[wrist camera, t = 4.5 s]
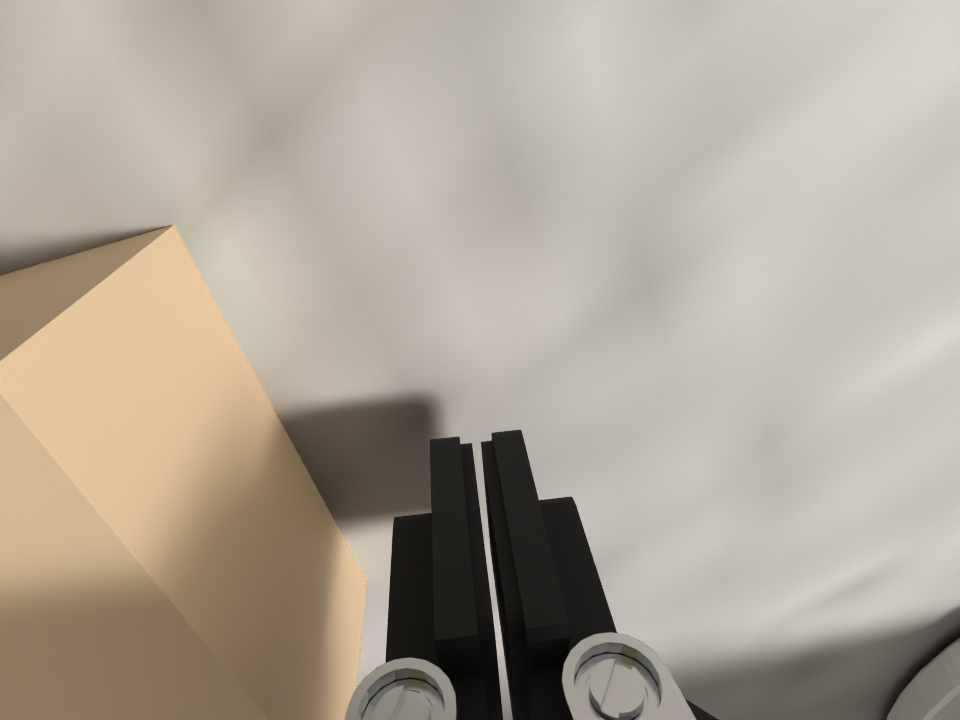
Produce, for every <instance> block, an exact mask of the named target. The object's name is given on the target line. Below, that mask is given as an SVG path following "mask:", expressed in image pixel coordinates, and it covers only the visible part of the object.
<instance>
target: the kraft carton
mask: <svg viewBox="0 0 960 720" xmlns="http://www.w3.org/2000/svg"><path fill="white" fill-rule="evenodd" d="M366 589H367V580H366V578H365V576H364V574H363V572H362V570H361V568H360V567H359V565H358V563H357V561H356V559H355V557H354V556H353V554H352V552H351V550H350V548H349V546H348V545H347V543H346V541H345V539H344V537H343V535H342V534H341V532H340V530H339V528H338V526H337V524H336V522H335V521H334V519H333V517H332V515H331V513H330V511H329V510H328V508H327V506H326V504H325V502H324V500H323V499H322V497H321V495H320V493H319V491H318V489H317V487H316V486H315V484H314V482H313V480H312V478H311V476H310V475H309V473H308V471H307V469H306V467H305V465H304V464H303V462H302V460H301V458H300V456H299V454H298V453H297V451H296V449H295V447H294V445H293V443H292V441H291V440H290V438H289V436H288V434H287V432H286V430H285V429H284V427H283V425H282V423H281V421H280V419H279V418H278V416H277V414H276V412H275V410H274V408H273V406H272V405H271V403H270V401H269V399H268V397H267V395H266V394H265V392H264V390H263V388H262V386H261V384H260V383H259V381H258V379H257V377H256V375H255V373H254V371H253V370H252V368H251V366H250V364H249V362H248V360H247V359H246V357H245V355H244V353H243V351H242V349H241V348H240V346H239V344H238V342H237V340H236V338H235V337H234V335H233V333H232V331H231V329H230V327H229V325H228V324H227V322H226V320H225V318H224V316H223V314H222V313H221V311H220V309H219V307H218V305H217V303H216V302H215V300H214V298H213V296H212V294H211V292H210V290H209V289H208V287H207V285H206V283H205V281H204V279H203V278H202V276H201V274H200V272H199V270H198V268H197V267H196V265H195V263H194V261H193V259H192V257H191V256H190V254H189V252H188V250H187V248H186V246H185V244H184V243H183V241H182V239H181V237H180V235H179V233H178V232H177V230H176V228H175V226H174V225H172V226H168V227H165V228H162V229H158V230H155V231H151V232H148V233H144V234H141V235H138V236H134V237H131V238H127V239H124V240H120V241H117V242H113V243H110V244H107V245H103V246H100V247H96V248H93V249H89V250H86V251H82V252H79V253H76V254H72V255H69V256H65V257H62V258H58V259H55V260H51V261H48V262H45V263H41V264H38V265H34V266H31V267H27V268H24V269H20V270H17V271H14V272H10V273H7V274H3V275H0V720H344V718H345V714H346V710H347V707H348V705H349V702H350V700H351V697H352V695H353V692H354V691H355V690H356V688H357V678H358V669H359V659H360V649H361V639H362V629H363V619H364V609H365V599H366Z"/></svg>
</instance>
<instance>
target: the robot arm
mask: <svg viewBox="0 0 960 720" xmlns="http://www.w3.org/2000/svg"><path fill="white" fill-rule="evenodd" d="M481 448H482V459H483V470H484V482H485V493H486V504H487V515H488V526H489V538H490V548H491V557H492V565H493V573H494V580H495V588H496V595H497V603H498V610H499V618H500V626H501V633H502V641H503V648H504V656H505V663H506V671H507V678H508V686H509V693H510V701H511V708H512V716H513V720H718V719H716V718H715V717H713V716H711V715H710V714H708V713H707V712H705V711H703V710H702V709H700V708H699V707H697V706H696V705H694V704H692V703H691V702H689V701H688V700H686V699H685V698H684V696H683V695H682V693H681V691H680V689H679V687H678V686H677V684H676V682H675V680H674V678H673V676H672V675H671V673H670V671H669V669H668V667H667V666H666V665H665V663H664V662H663V661H662V659H661V658H660V657H659V655H658V654H657V653H656V652H655V651H654V650H652V649H651V648H650V647H649V646H647V645H646V644H645V643H644V642H642V641H640V640H638V639H635V638H633V637H631V636H629V635H625V634H619V633H617V631H616V628H615V625H614V622H613V619H612V616H611V613H610V610H609V606H608V603H607V600H606V597H605V594H604V591H603V588H602V585H601V582H600V579H599V575H598V572H597V569H596V566H595V563H594V560H593V557H592V554H591V551H590V547H589V544H588V541H587V538H586V535H585V532H584V529H583V526H582V523H581V520H580V516H579V513H578V510H577V507H576V504H575V502H574V500H573V498H572V497H564V498H555V499H547V500H539V499H538V495H537V491H536V487H535V483H534V479H533V475H532V471H531V467H530V463H529V459H528V455H527V451H526V447H525V443H524V439H523V435H522V431H521V430H513V431H504V432H495V433H492V441H486V442H481ZM430 462H431V507H432V513H427V514H418V515H410V516H401V517H395V518H394V523H393V537H392V555H391V574H390V592H389V610H388V628H387V646H386V663H385V664H383V665H381V666H378V667H377V668H376V669H375V670H373V671H372V672H371V673H370V674H368V675H367V676H366V677H365V678H364V679H363V680H362V682H361V683H360V684H359V686H358V687H357V688H356V690H355V691H354V692H353V695H352V697H351V700H350V702H349V705H348V707H347V710H346V714H345V718H344V720H503V715H502V704H501V693H500V683H499V672H498V661H497V651H496V640H495V631H494V622H493V613H492V605H491V597H490V588H489V580H488V572H487V564H486V556H485V547H484V539H483V531H482V523H481V515H480V506H479V498H478V490H477V482H476V474H475V465H474V457H473V449H472V443H468V444H460V437H450V438H441V439H432V440H430ZM887 720H960V638H959V639H957V640H956V641H955V642H953V643H952V644H950V645H949V646H947V647H946V648H945V649H944V650H943V651H942V652H940V653H939V654H938V655H937V656H936V657H935V658H934V659H932V660H931V661H930V662H929V663H928V664H927V665H926V666H925V667H923V668H922V669H921V670H920V671H919V672H918V673H917V674H916V676H915V677H914V678H913V679H912V680H911V681H910V683H909V684H908V685H907V686H906V687H905V688H904V690H903V691H902V692H901V693H900V694H899V696H898V698H897V700H896V702H895V703H894V705H893V707H892V709H891V710H890V712H889V714H888V716H887Z"/></svg>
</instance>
